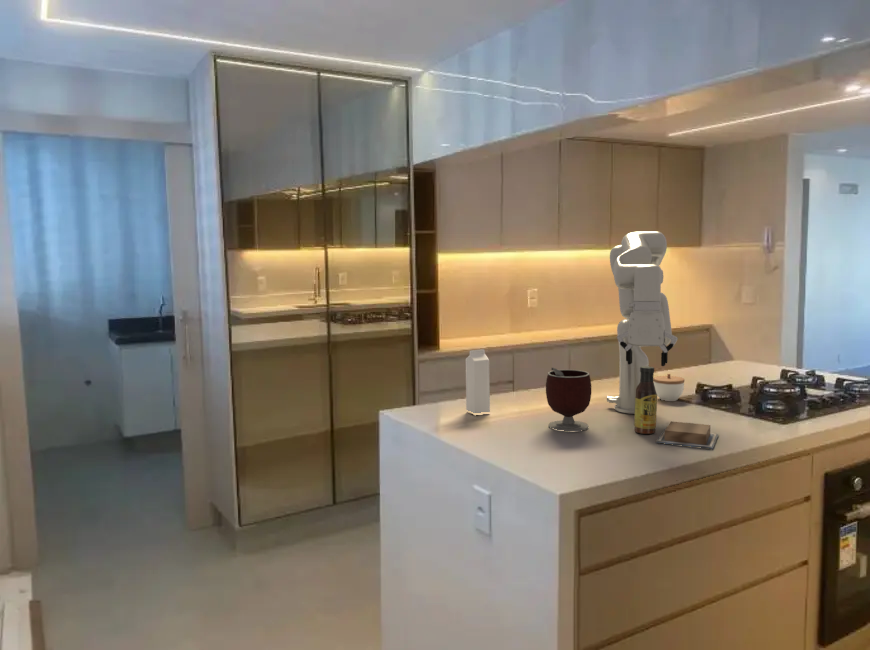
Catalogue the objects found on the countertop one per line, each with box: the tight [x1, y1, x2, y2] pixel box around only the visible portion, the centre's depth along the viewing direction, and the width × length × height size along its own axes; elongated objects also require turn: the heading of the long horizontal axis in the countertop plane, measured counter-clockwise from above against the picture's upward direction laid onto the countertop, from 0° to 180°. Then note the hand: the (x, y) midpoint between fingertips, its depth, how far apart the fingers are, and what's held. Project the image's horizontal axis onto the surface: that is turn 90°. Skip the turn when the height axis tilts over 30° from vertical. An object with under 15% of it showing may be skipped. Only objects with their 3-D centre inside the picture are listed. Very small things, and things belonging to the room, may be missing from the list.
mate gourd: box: [545, 367, 592, 432], centre depth 211 cm, size 16×14×20 cm
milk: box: [465, 348, 491, 413], centre depth 231 cm, size 6×6×22 cm
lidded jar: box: [653, 373, 685, 402], centre depth 248 cm, size 11×11×9 cm
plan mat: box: [655, 420, 719, 450], centre depth 195 cm, size 15×15×4 cm
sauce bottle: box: [633, 366, 658, 435], centre depth 203 cm, size 6×6×20 cm
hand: (646, 364), depth 202 cm, fingers open, 9 cm apart
